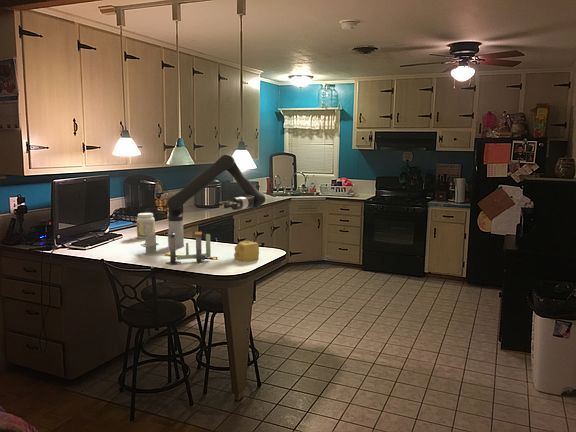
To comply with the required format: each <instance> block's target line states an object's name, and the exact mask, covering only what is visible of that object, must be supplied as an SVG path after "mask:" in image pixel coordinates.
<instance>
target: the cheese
mask: <svg viewBox="0 0 576 432" xmlns="http://www.w3.org/2000/svg"><path fill="white" fill-rule="evenodd" d="M234 251H235V252H234V254H233V255H234V256H233V257H234V259H235V260H238V261H241V262H243V263H247V262H250V261H251V262H252V261H256V260H259V255H260V247H259V242H255V241H251V240H242V241H239V242H238V243H237V244H236V245H234Z"/></svg>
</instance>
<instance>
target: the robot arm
mask: <svg viewBox="0 0 576 432" xmlns="http://www.w3.org/2000/svg"><path fill="white" fill-rule="evenodd" d="M225 171H227V172H228V173H229V174H230V176H231V177H233V179H234V181H235V182H236V183H237V185H238V186H239V188H240V189H241V191H243V193H244V194H245V196H236V197H231V199H230V200H226V201H225V200H224V201H223V200H222V201H217V202H214V203H213V207H215V208H218V207H222V208H223V209H231V210H233V211H238V210H244V209H247V208H250V209H258V208H260V207H261V206H263V205H264V204H265V202H266V201H267V200H266V196H265V195H264V194H263V193H262V192H261V191H259V190H258V189H257V188H256V187H254V185H253V184H252V183H251V182H250V180H249V179H248V178H247V177H246V176H245V174H244V173H243V172H242V170H240V168H239V167H238V165H237V163H236V161H235V159H234V157H233V156H232V155H231V154H227V153H225V154H223V155H221V156H220V157H219V158H218V159H217V160H216V161H215V162H214V163H213V164H212V165H211V166H209V167H208V168H206V169H205V170H203V171H202V172H200V173H198V174H197V175H196V176H195V177H194V178H193V179H191V180H190V182H189V181H188V183H187V184H186V185H185V186H184V187H183V188H182V189H181V190H179V191H178V192H177V193H175V194H173V195H171V196H170V197H169V198H168V199H167V202H166V206H167V208H168V215H167V219H168V220H167V223H168V232H167V241H168V243H167V245H168V247H169V248H170V236H169V234H170V233H176V235H175V247H176V249H179V248H180V249H181V248H184V245H185V244H184V243H185V241H184V205H185V204H186V203H187V201H189V200H190V199H191V198H193V197H194V196H196V195H199V193H200V192H202V191H204V190H205V189H206V188H207V187H209V186H211V184H212V183H213V182H214V181H215V180H216V178H218V176H219V175H221V174H222V173H224V172H225ZM252 196H253V197H252Z"/></svg>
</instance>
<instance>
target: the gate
mask: <svg viewBox="0 0 576 432" xmlns="http://www.w3.org/2000/svg"><path fill="white" fill-rule="evenodd" d="M211 254H212V253H211V234H210V233H206V234H205V253H203V252H202V261H205V260H206V259H205V258H210V257H212V255H211ZM190 259H196V253H194V254H190V252H189V242H185V254H183V255H180V254H179V255H176V261H178V260H180V261H181V260H190Z"/></svg>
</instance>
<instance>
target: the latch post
mask: <svg viewBox="0 0 576 432" xmlns="http://www.w3.org/2000/svg"><path fill="white" fill-rule="evenodd" d="M194 235H195V254H196V258H195V260H196V262H195V263H196V264H202V262H203V260H202V254H203V252H202V251H203V250H202V235H203V232H202V231H195V232H194Z"/></svg>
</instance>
